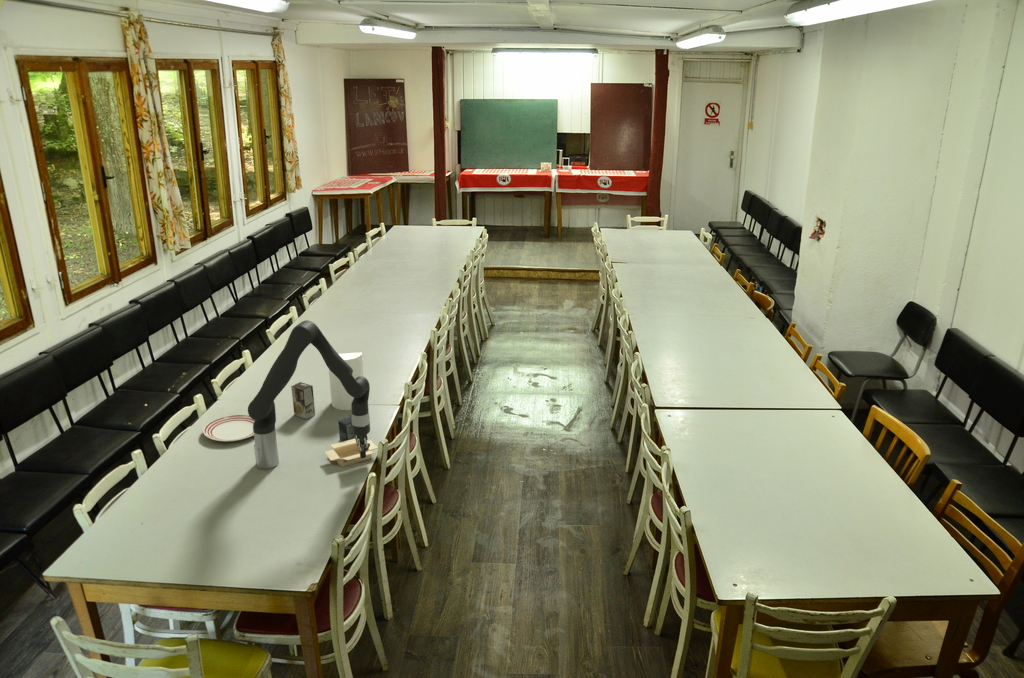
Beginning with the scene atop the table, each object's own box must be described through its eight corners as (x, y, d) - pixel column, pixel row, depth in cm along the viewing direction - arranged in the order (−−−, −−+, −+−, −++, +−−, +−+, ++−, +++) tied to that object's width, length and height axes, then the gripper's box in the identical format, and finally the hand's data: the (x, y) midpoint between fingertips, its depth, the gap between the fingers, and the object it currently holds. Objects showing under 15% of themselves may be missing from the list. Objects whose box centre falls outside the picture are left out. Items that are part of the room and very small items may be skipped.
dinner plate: (263, 416, 384) (262, 410, 383) (264, 441, 360) (263, 435, 359) (205, 423, 376) (204, 417, 375) (202, 450, 352) (201, 443, 351)
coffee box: (315, 414, 386) (313, 385, 380) (306, 419, 381) (303, 390, 375) (303, 409, 391) (300, 381, 385) (293, 414, 386) (290, 385, 380)
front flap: (341, 459, 338) (348, 460, 330) (341, 458, 338) (347, 459, 330) (369, 451, 344) (376, 453, 336) (369, 451, 344) (375, 452, 336)
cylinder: (365, 408, 393) (362, 358, 383) (331, 411, 390) (327, 361, 380) (364, 394, 409) (361, 346, 399) (331, 396, 406) (327, 348, 395)
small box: (356, 431, 370) (355, 412, 366) (365, 436, 366) (363, 416, 363) (338, 439, 363) (337, 420, 359) (347, 444, 359) (346, 424, 355)
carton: (332, 469, 337) (331, 461, 336) (321, 455, 348) (320, 447, 347) (378, 456, 348) (378, 448, 347) (367, 443, 360) (366, 435, 358)
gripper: (346, 417, 329) (349, 452, 335) (358, 430, 319) (360, 466, 325) (363, 413, 333) (365, 448, 339) (375, 426, 322) (377, 461, 329)
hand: (363, 457), depth 332 cm, fingers closed
